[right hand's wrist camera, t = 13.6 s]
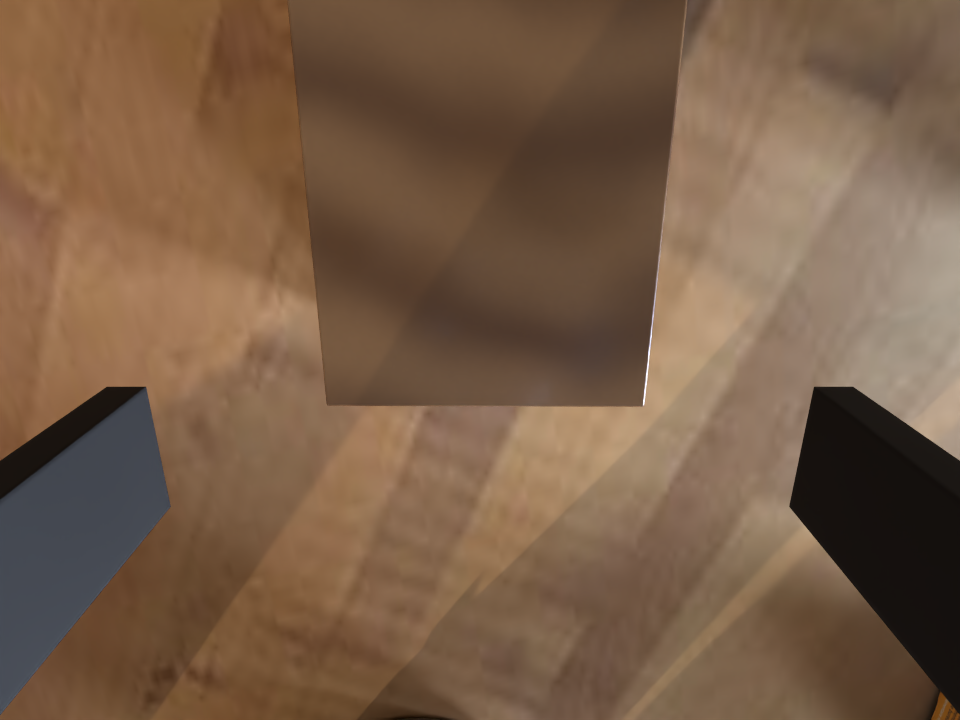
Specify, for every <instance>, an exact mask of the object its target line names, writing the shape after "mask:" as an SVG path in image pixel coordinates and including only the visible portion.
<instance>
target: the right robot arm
mask: <svg viewBox="0 0 960 720" xmlns="http://www.w3.org/2000/svg"><path fill="white" fill-rule="evenodd" d="M170 507H171V506H170V501H169V496H168V491H167V487H166V482H165V477H164V472H163V467H162V462H161V457H160V453H159V448H158V443H157V438H156V433H155V428H154V423H153V419H152V414H151V409H150V404H149V399H148V394H147V390H146V387H106V388H105V389H103V390H102V391H100V392H99V393H97V394H96V395H95V396H93V397H92V398H90V399H89V400H87V401H86V402H84V403H83V404H82V405H80V406H79V407H77V408H76V409H74V410H73V411H71V412H70V413H69V414H67V415H66V416H64V417H63V418H61V419H60V420H58V421H57V422H56V423H54V424H53V425H51V426H50V427H48V428H47V429H46V430H44V431H43V432H41V433H40V434H38V435H37V436H35V437H34V438H33V439H31V440H30V441H28V442H27V443H25V444H24V445H22V446H21V447H20V448H18V449H17V450H15V451H14V452H12V453H11V454H9V455H8V456H7V457H5V458H4V459H2V460H1V461H0V715H1V713H2V712H3V711H4V710H5V709H6V707H7V706H8V705H9V704H10V702H11V701H12V700H13V699H14V698H15V696H16V695H17V694H18V693H19V691H20V690H21V689H22V688H23V687H24V685H25V684H26V683H27V682H28V680H29V679H30V678H31V677H32V676H33V674H34V673H35V672H36V671H37V669H38V668H39V667H40V666H41V665H42V663H43V662H44V661H45V660H46V658H47V657H48V656H49V655H50V654H51V652H52V651H53V650H54V649H55V647H56V646H57V645H58V644H59V642H60V641H61V640H62V639H63V638H64V636H65V635H66V634H67V633H68V631H69V630H70V629H71V628H72V627H73V625H74V624H75V623H76V622H77V620H78V619H79V618H80V617H81V616H82V614H83V613H84V612H85V611H86V609H87V608H88V607H89V606H90V605H91V603H92V602H93V601H94V600H95V598H96V597H97V596H98V595H99V594H100V592H101V591H102V590H103V589H104V587H105V586H106V585H107V584H108V583H109V581H110V580H111V579H112V578H113V576H114V575H115V574H116V573H117V572H118V570H119V569H120V568H121V567H122V565H123V564H124V563H125V562H126V561H127V559H128V558H129V557H130V556H131V554H132V553H133V552H134V551H135V550H136V548H137V547H138V546H139V545H140V543H141V542H142V541H143V540H144V539H145V537H146V536H147V535H148V534H149V532H150V531H151V530H152V529H153V528H154V526H155V525H156V524H157V523H158V521H159V520H160V519H161V518H162V517H163V515H164V514H165V513H166V512H167V510H168V509H169V508H170ZM789 507H790V508H791V509H792V510H793V512H794V513H795V514H796V515H797V517H798V518H799V519H800V520H801V521H802V523H803V524H804V525H805V526H806V528H807V529H808V530H809V531H810V532H811V534H812V535H813V536H814V537H815V539H816V540H817V541H818V542H819V543H820V545H821V546H822V547H823V548H824V550H825V551H826V552H827V553H828V554H829V556H830V557H831V558H832V559H833V561H834V562H835V563H836V564H837V565H838V567H839V568H840V569H841V570H842V572H843V573H844V574H845V575H846V576H847V578H848V579H849V580H850V581H851V583H852V584H853V585H854V586H855V587H856V589H857V590H858V591H859V592H860V594H861V595H862V596H863V597H864V598H865V600H866V601H867V602H868V603H869V605H870V606H871V607H872V608H873V609H874V611H875V612H876V613H877V614H878V616H879V617H880V618H881V619H882V620H883V622H884V623H885V624H886V625H887V627H888V628H889V629H890V630H891V631H892V633H893V634H894V635H895V636H896V638H897V639H898V640H899V641H900V642H901V644H902V645H903V646H904V647H905V649H906V650H907V651H908V652H909V654H910V655H911V656H912V657H913V658H914V660H915V661H916V662H917V663H918V665H919V666H920V667H921V668H922V669H923V671H924V672H925V673H926V674H927V676H928V677H929V678H930V679H931V680H932V682H933V683H934V684H935V685H936V687H937V688H938V689H939V690H940V691H941V693H942V694H943V695H944V696H945V698H946V699H947V700H948V701H949V702H950V704H951V705H952V706H953V707H954V709H955V710H956V711H957V712H958V713H959V715H960V461H959V460H958V459H956V458H955V457H953V456H952V455H951V454H949V453H948V452H946V451H945V450H943V449H942V448H940V447H939V446H938V445H936V444H935V443H933V442H932V441H930V440H929V439H927V438H926V437H925V436H923V435H922V434H920V433H919V432H917V431H916V430H914V429H913V428H912V427H910V426H909V425H907V424H906V423H904V422H903V421H902V420H900V419H899V418H897V417H896V416H894V415H893V414H891V413H890V412H889V411H887V410H886V409H884V408H883V407H881V406H880V405H878V404H877V403H876V402H874V401H873V400H871V399H870V398H868V397H867V396H865V395H864V394H863V393H861V392H860V391H858V390H857V389H855V388H854V387H814V389H813V394H812V399H811V404H810V409H809V414H808V419H807V423H806V428H805V433H804V438H803V443H802V448H801V453H800V457H799V462H798V467H797V472H796V477H795V482H794V487H793V491H792V496H791V501H790V506H789ZM399 720H438V719H427V718H410V719H399Z"/></svg>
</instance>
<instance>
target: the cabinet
mask: <svg viewBox="0 0 960 720" xmlns="http://www.w3.org/2000/svg"><path fill="white" fill-rule="evenodd" d="M287 1H288V12H289V22H290V32H291V42H292V53H293V63H294V73H295V83H296V94H297V104H298V114H299V124H300V135H301V145H302V155H303V165H304V176H305V186H306V196H307V207H308V217H309V227H310V237H311V248H312V258H313V268H314V278H315V289H316V299H317V309H318V319H319V330H320V340H321V350H322V360H323V371H324V381H325V391H326V401H327V405H328V406H555V407H643V406H644V402H645V393H646V383H647V374H648V365H649V355H650V346H651V337H652V327H653V318H654V309H655V299H656V290H657V281H658V271H659V262H660V253H661V243H662V234H663V224H664V215H665V206H666V196H667V187H668V178H669V168H670V159H671V150H672V140H673V131H674V122H675V112H676V103H677V94H678V84H679V75H680V66H681V56H682V47H683V38H684V28H685V19H686V10H687V0H287Z"/></svg>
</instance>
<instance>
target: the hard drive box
mask: <svg viewBox="0 0 960 720" xmlns="http://www.w3.org/2000/svg"><path fill="white" fill-rule="evenodd" d="M931 720H960V715H959V713H958V712H957V711H956V710H955V709H954V707H953V706H952V705H951V704H950V702H949V701H948V700H947V699H946V698H945V696H944V695H943V694H942V693H941V691H940V694H939V697H938V703H937V706H936V709H935V711H934V714H933V716H932V718H931Z"/></svg>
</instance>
